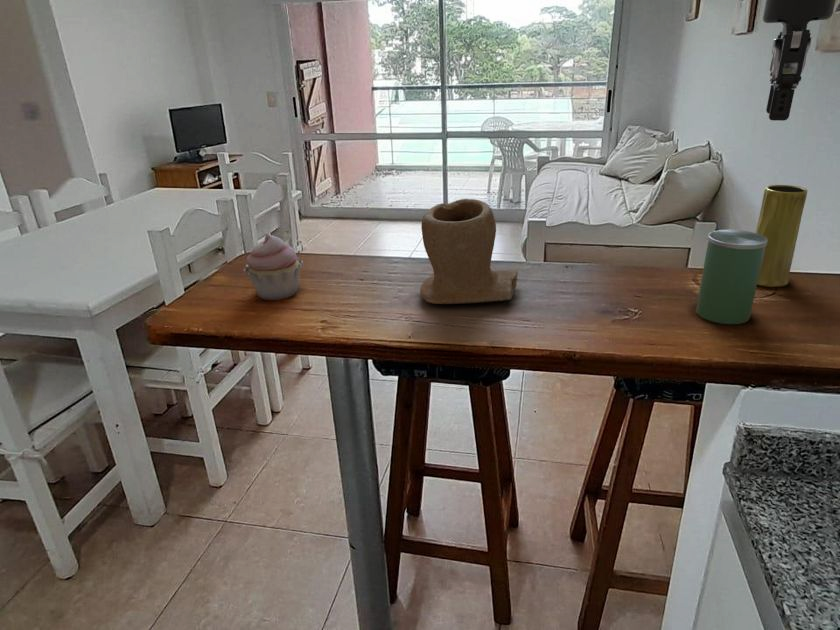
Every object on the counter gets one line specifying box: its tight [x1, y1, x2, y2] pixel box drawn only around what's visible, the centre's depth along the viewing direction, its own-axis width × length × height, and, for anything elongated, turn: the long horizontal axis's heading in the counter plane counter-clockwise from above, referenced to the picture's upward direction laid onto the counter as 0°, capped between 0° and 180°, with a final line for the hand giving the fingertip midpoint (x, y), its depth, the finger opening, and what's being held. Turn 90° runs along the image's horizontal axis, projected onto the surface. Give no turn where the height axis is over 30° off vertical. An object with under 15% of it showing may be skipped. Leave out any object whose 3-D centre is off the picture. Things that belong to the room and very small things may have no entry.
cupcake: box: [242, 233, 304, 301], centre depth 90 cm, size 9×9×10 cm
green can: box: [695, 229, 768, 325], centre depth 76 cm, size 7×7×11 cm
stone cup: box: [419, 198, 519, 305], centre depth 84 cm, size 15×12×15 cm
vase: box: [755, 184, 808, 288], centre depth 86 cm, size 6×6×14 cm
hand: (776, 116), depth 77 cm, fingers open, 8 cm apart
